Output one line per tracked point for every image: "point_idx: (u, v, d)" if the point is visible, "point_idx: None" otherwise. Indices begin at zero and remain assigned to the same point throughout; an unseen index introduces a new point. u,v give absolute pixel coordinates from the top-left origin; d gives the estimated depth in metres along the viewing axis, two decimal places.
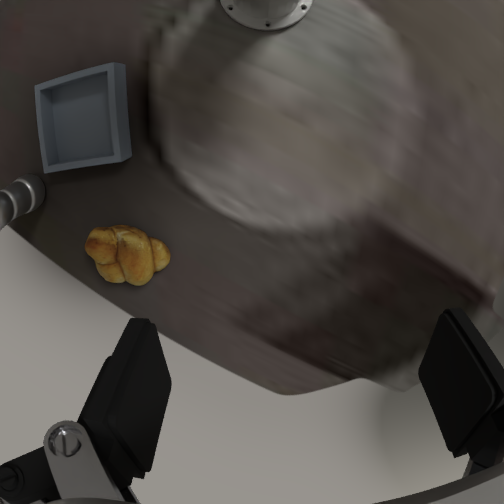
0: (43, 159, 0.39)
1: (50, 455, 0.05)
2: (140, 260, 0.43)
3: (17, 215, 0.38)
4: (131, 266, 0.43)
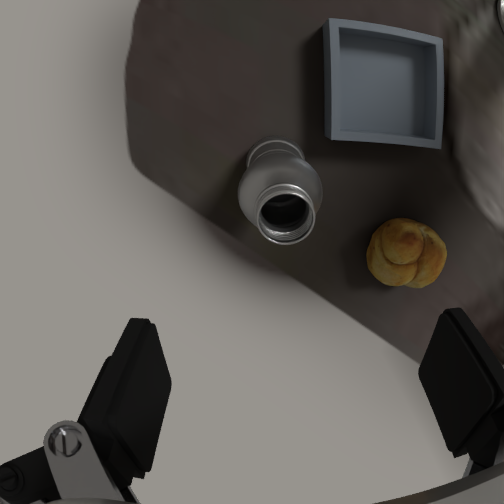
0: (334, 120, 0.31)
1: (50, 455, 0.05)
2: (442, 259, 0.36)
3: None
4: (435, 266, 0.36)
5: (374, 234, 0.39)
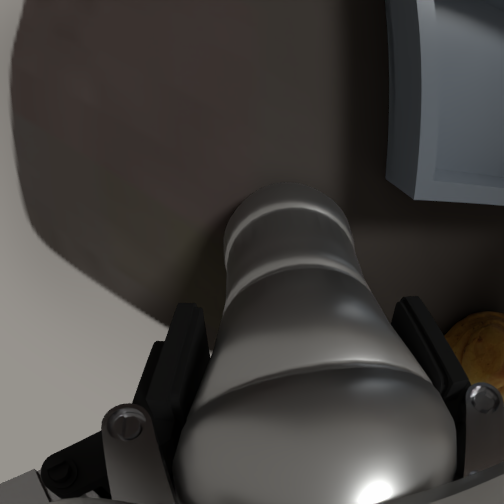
0: (424, 155, 0.13)
1: (111, 440, 0.05)
2: None
3: None
4: None
5: (448, 341, 0.21)
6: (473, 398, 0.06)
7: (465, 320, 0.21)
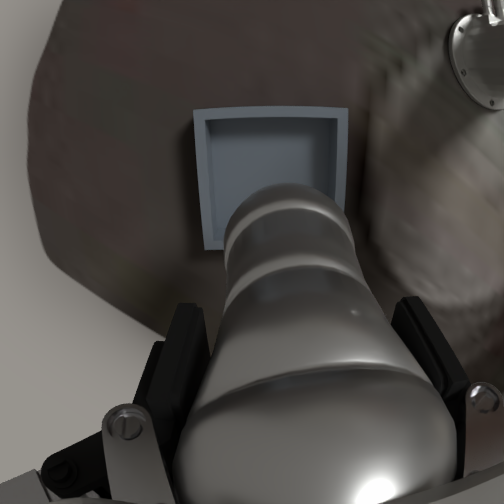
0: (205, 229, 0.32)
1: (111, 440, 0.05)
2: None
3: None
4: None
5: None
6: (473, 398, 0.06)
7: None
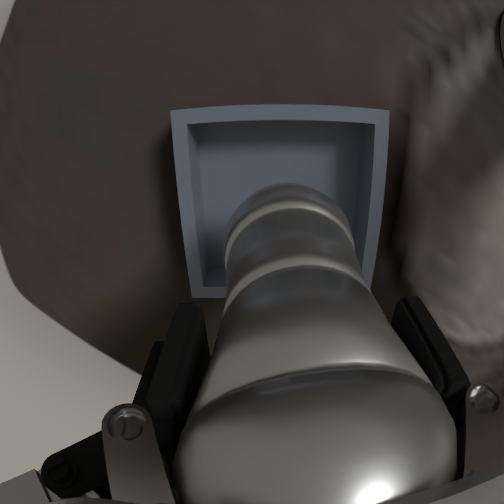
0: (192, 273, 0.24)
1: (111, 440, 0.05)
2: None
3: None
4: None
5: None
6: (473, 398, 0.06)
7: None
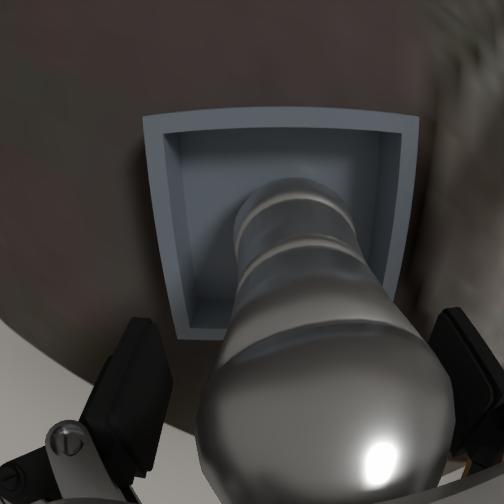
0: (176, 313, 0.19)
1: (52, 455, 0.05)
2: None
3: None
4: None
5: None
6: None
7: None
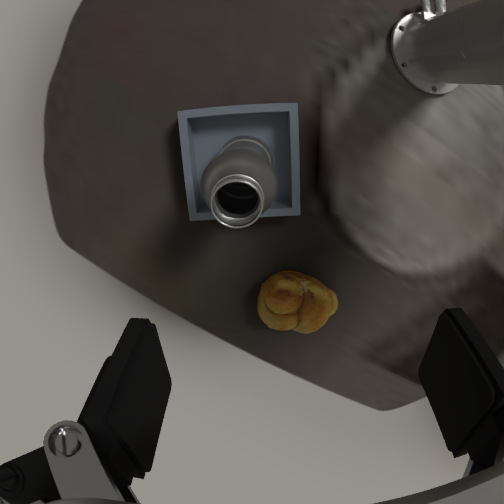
0: (190, 204, 0.39)
1: (50, 455, 0.05)
2: (324, 311, 0.44)
3: None
4: (315, 317, 0.44)
5: (262, 284, 0.47)
6: None
7: None
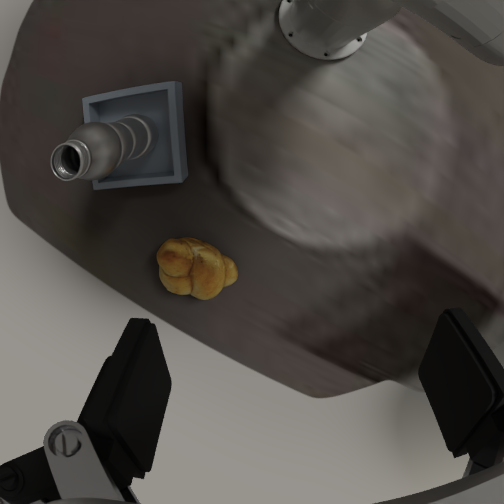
0: None
1: (50, 455, 0.05)
2: (215, 277, 0.46)
3: (131, 156, 0.36)
4: (205, 282, 0.46)
5: None
6: None
7: None
